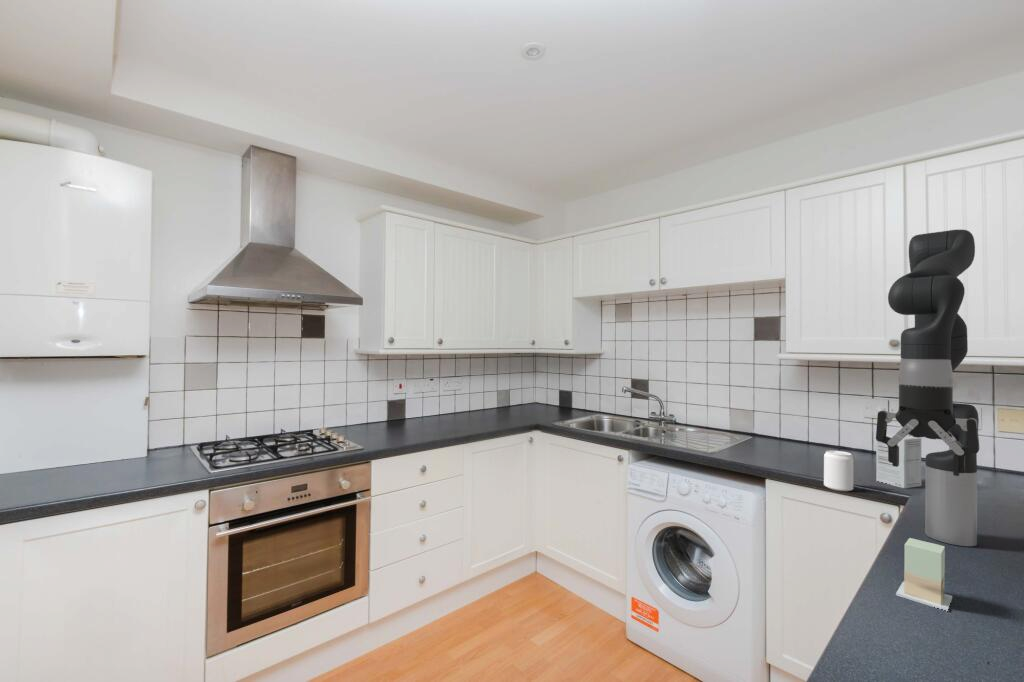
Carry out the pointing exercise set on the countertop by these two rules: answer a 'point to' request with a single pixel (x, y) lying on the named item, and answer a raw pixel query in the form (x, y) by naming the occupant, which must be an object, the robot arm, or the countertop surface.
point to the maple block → (924, 588)
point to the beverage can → (838, 470)
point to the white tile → (944, 604)
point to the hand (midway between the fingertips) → (924, 470)
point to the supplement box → (900, 463)
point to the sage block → (924, 559)
